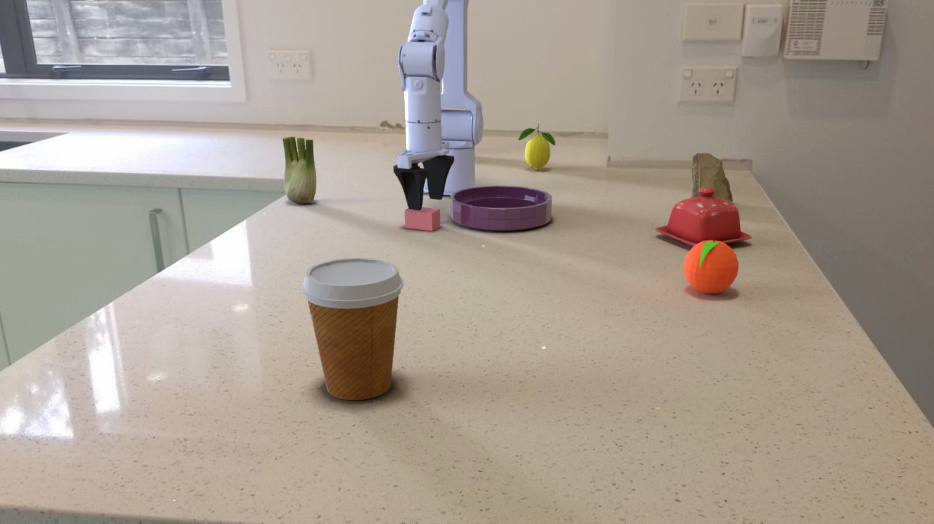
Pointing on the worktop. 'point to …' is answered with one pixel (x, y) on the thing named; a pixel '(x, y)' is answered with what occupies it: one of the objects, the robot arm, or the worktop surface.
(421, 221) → the eraser
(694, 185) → the rock
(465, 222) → the bowl
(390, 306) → the disposable coffee cup
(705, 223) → the butter dish
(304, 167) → the fennel bulb
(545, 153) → the lemon
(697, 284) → the clementine
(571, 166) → the worktop surface
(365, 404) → the worktop surface
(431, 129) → the robot arm
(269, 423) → the worktop surface
